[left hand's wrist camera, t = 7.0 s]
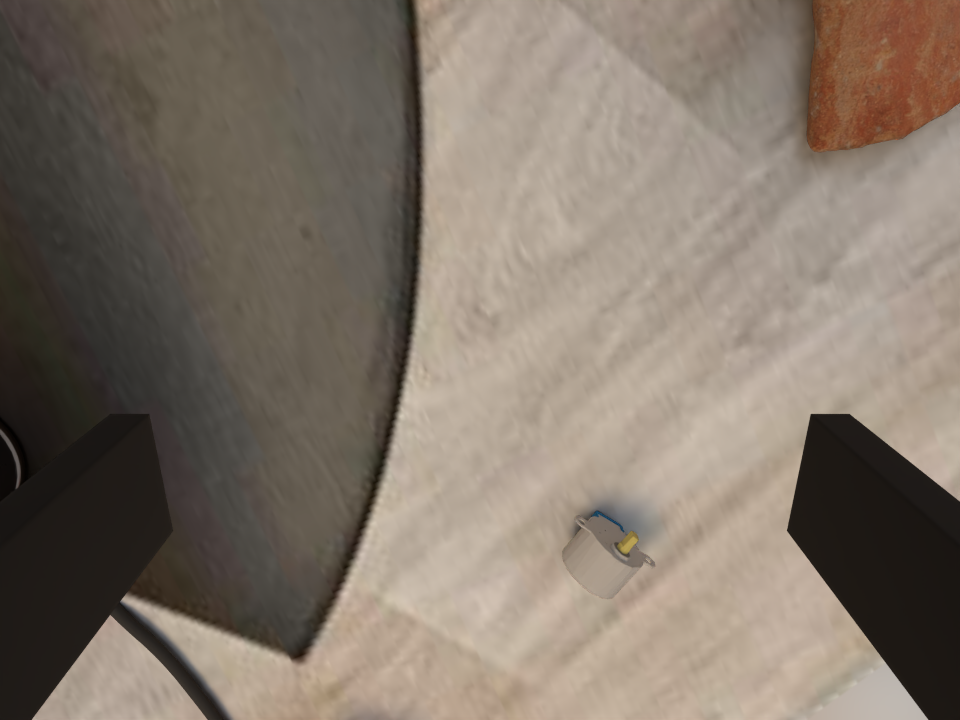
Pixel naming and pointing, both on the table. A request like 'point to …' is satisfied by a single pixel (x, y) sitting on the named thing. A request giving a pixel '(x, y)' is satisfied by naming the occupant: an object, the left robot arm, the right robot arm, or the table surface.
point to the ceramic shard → (881, 69)
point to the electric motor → (603, 556)
